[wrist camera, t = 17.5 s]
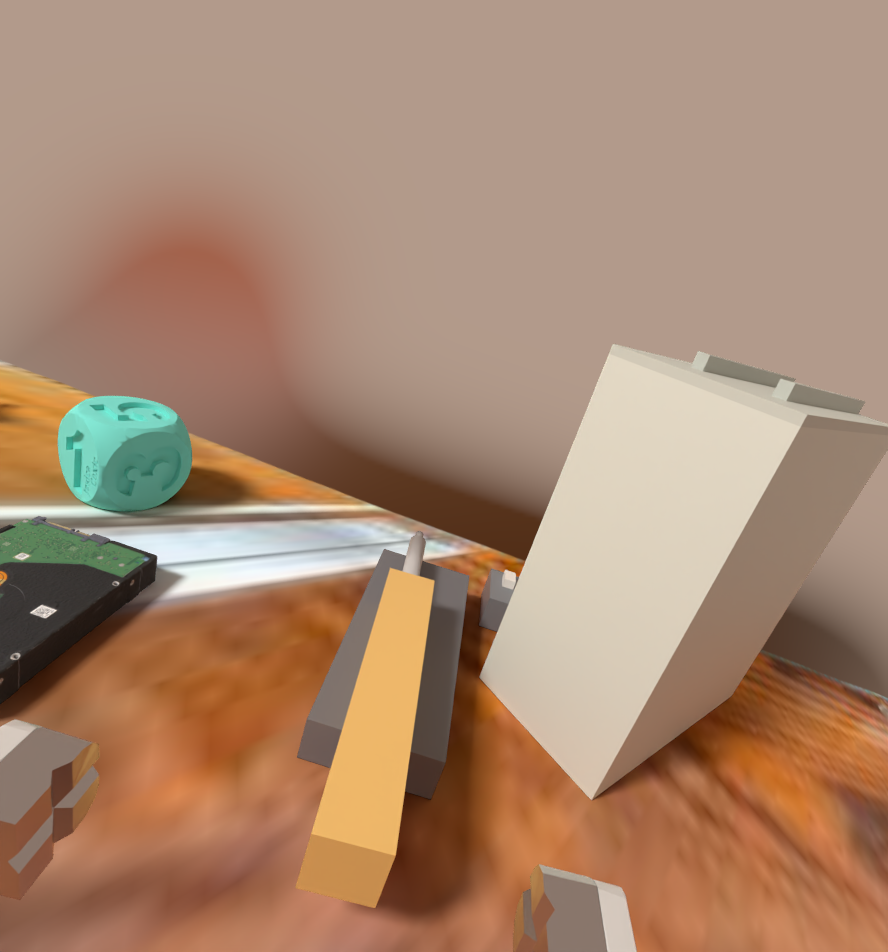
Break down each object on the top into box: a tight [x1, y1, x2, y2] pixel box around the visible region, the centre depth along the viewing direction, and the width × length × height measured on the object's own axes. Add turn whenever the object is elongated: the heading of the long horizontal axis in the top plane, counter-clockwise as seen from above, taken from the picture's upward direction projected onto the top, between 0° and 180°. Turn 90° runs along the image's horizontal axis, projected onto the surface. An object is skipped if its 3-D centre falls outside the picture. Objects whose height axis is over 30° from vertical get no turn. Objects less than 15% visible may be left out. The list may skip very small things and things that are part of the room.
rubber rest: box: [297, 549, 469, 799], centre depth 40 cm, size 8×20×3 cm, turn 173°
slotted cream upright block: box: [479, 344, 888, 800], centre depth 40 cm, size 22×11×27 cm, turn 128°
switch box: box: [479, 569, 519, 632], centre depth 49 cm, size 8×5×4 cm, turn 83°
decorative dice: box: [58, 396, 192, 511], centre depth 49 cm, size 8×8×8 cm
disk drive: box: [0, 516, 157, 704], centre depth 34 cm, size 10×3×15 cm
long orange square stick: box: [295, 531, 435, 908], centre depth 35 cm, size 30×3×3 cm, turn 176°
